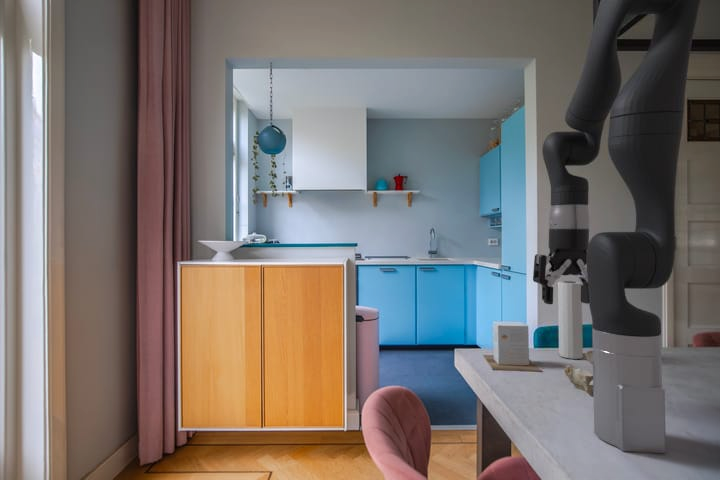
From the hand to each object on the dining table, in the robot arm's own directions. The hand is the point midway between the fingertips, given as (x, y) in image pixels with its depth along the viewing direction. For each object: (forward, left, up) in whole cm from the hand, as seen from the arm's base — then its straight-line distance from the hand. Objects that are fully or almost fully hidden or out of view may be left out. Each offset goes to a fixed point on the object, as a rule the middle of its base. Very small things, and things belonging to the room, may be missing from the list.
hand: (567, 303), depth 83 cm
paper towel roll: (+31, -13, -19) cm, 39 cm away
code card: (+22, +6, -19) cm, 30 cm away
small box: (+22, +6, -19) cm, 30 cm away
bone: (+2, -5, -19) cm, 20 cm away
